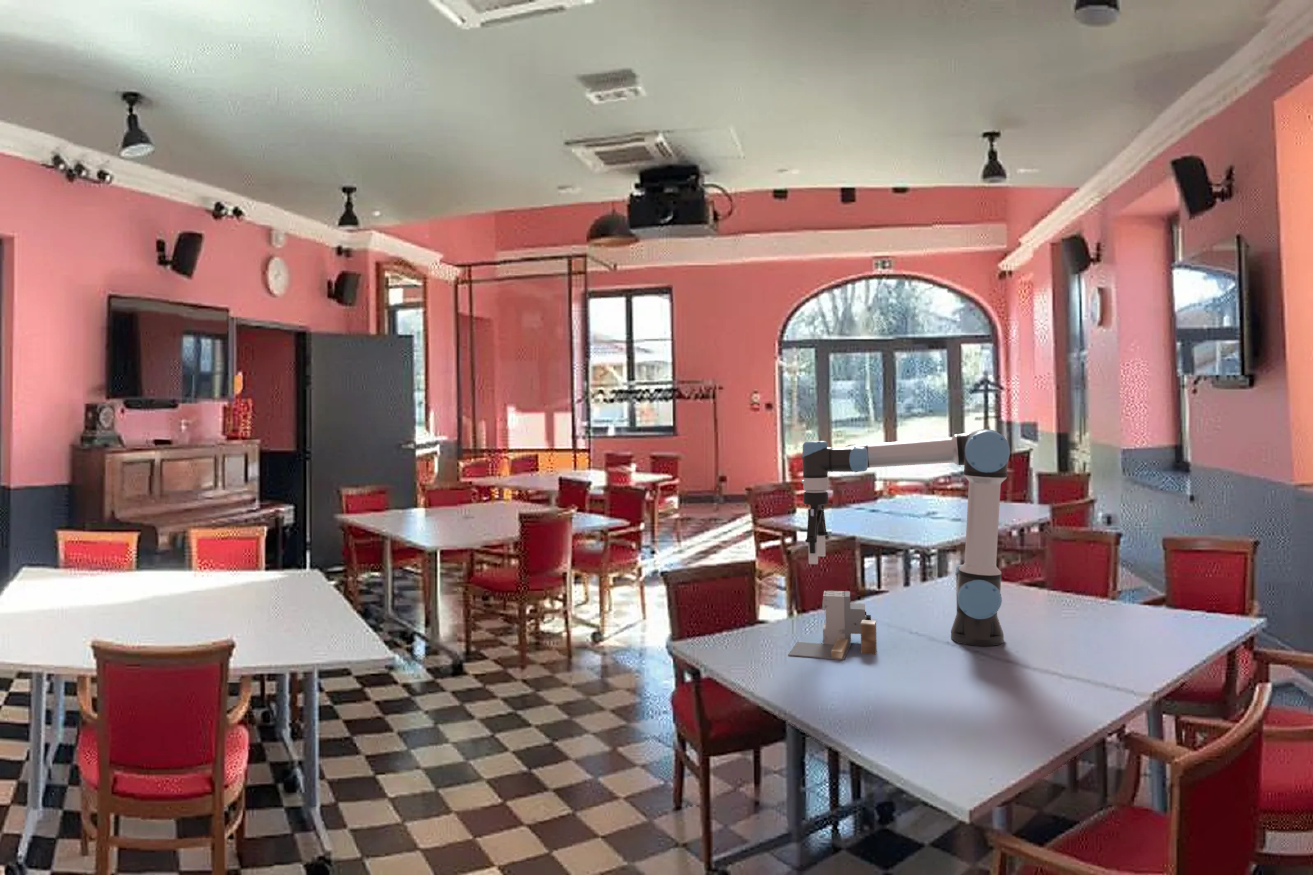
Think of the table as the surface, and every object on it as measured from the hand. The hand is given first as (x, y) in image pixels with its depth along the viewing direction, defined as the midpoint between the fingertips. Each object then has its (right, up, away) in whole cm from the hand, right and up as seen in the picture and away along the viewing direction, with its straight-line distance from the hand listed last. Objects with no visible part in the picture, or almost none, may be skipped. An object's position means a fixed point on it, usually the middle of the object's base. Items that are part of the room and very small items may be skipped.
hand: (817, 560), depth 260 cm
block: (+13, -25, -11) cm, 31 cm away
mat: (-1, -26, -9) cm, 27 cm away
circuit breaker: (+9, -25, 0) cm, 27 cm away
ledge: (+4, -26, -12) cm, 28 cm away
